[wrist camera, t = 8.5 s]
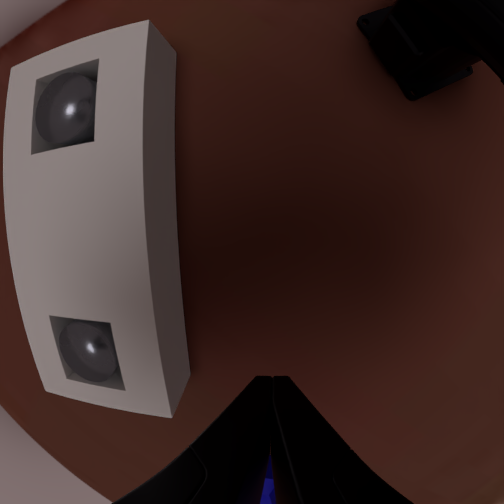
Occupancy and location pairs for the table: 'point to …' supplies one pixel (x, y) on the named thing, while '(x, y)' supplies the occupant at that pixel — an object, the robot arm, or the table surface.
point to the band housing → (101, 219)
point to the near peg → (67, 110)
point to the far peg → (89, 349)
